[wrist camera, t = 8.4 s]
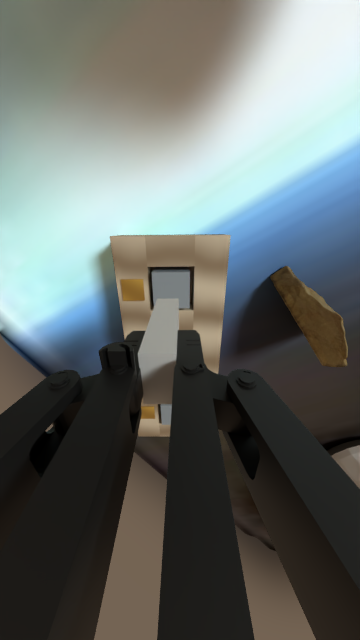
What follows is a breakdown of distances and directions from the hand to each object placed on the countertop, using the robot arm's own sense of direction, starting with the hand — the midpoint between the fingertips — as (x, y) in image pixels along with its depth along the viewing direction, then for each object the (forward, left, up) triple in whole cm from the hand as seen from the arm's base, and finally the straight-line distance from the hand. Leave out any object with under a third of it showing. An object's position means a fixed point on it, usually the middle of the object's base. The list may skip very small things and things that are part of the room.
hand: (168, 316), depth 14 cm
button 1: (0, 0, -11) cm, 11 cm away
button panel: (+10, 0, -12) cm, 16 cm away
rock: (+3, +17, -13) cm, 21 cm away
